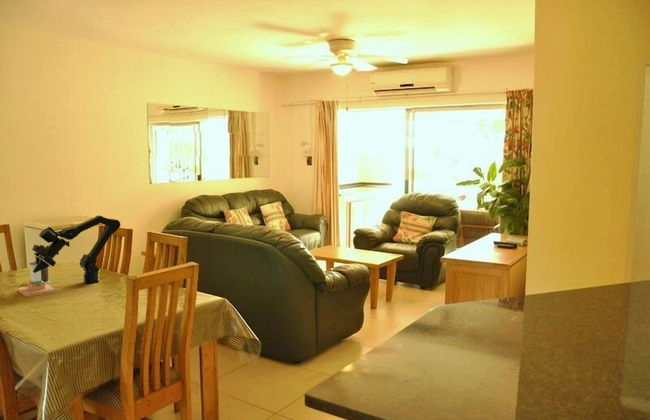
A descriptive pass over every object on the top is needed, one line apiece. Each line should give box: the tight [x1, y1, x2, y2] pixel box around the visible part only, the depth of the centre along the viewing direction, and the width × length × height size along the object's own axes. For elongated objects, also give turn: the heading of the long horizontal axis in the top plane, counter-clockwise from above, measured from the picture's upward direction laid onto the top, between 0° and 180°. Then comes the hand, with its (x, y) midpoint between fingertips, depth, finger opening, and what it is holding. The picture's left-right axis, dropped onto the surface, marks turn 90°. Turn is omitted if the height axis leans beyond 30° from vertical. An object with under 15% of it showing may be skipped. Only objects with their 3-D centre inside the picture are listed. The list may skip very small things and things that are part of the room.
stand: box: [17, 281, 56, 298], centre depth 263 cm, size 14×14×5 cm
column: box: [29, 261, 42, 283], centre depth 262 cm, size 5×4×10 cm
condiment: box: [41, 267, 52, 284], centre depth 282 cm, size 7×8×12 cm
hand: (32, 271), depth 261 cm, fingers closed on column, 4 cm apart
